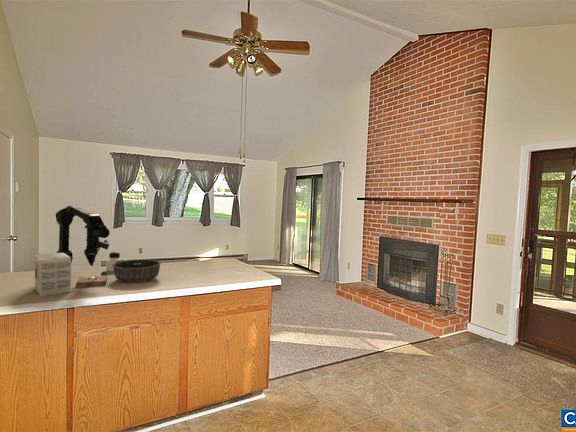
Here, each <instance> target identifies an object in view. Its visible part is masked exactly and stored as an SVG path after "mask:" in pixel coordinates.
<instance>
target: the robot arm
mask: <svg viewBox="0 0 576 432" xmlns="http://www.w3.org/2000/svg"><path fill="white" fill-rule="evenodd" d="M76 216H77V217H78V218H80V219H81V220H82V222H83V223H84V224H86V225H84V228H85V229H86V238H85V240H86V247H85V249H84V251H83V252H84V254H83V255H84V256H85V257H86V260H87V261H88V264H89V265H90V267H92V266H94V263H95V261H96V256H97V255H98V253H99V251H100V249H101V248H102V249H105V250H108V249H109V247H110V242H109V241H108V240H107V239H106V238H108V237H109V236H110V232H111V231H110V230H109V229H108V228H107V225H105V224H104V221H103V220H102V217H101V215H100V214H98V213H93V212H88V211H86V210H85V209H82V208H81V207H79V206H78V205H68V206H66V207H64V208H62V209H60V210H58V211H57V212H56V213H55V218H56V219H55V220H56V222H57V224H58V226H59V229H58V230H59V233H58V234H59V235H58V250H57V251H56V253H65V254H67V255H68V256H70V257H71V264H72V262H73V259H74V258H73V254H74V253H73V252H71V250H70V225H72V223H73V221H74V218H75V217H76ZM100 238H101V239H105V240H100Z"/></svg>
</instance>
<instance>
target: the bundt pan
mask: <svg viewBox="0 0 576 432" xmlns="http://www.w3.org/2000/svg"><path fill="white" fill-rule="evenodd" d="M161 264H162V262H160V261H159V260H155V259H154V260H153V259H129V260H123V261H122V262H118V263H115V264H113V265H112V266H113V268H114V272H113V273H114V276H115V278H116V279H117V280H118V281H119V282H122V283H125V284H126V283H128V284H132V283H135V284H137V283H144V282H150V281H152V280H154V279H156V277H157V276H158V275H159V272H160V266H161Z"/></svg>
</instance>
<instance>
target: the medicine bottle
mask: <svg viewBox="0 0 576 432" xmlns="http://www.w3.org/2000/svg"><path fill="white" fill-rule="evenodd" d="M120 256H121V253H120V252H118V251H112V252H110V253H109V256H108V257H109V259H107V260H106V262H105V271H106V272H111V273H114V268H113V266H112V265H113V264H115V263H118V262H122V261H124V260H123V259H122V258H121V257H120Z"/></svg>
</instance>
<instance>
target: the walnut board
mask: <svg viewBox="0 0 576 432" xmlns="http://www.w3.org/2000/svg"><path fill="white" fill-rule="evenodd" d="M91 277H95V278H96V280H89V279H90V278H91ZM107 282H108V274H107V275H104V276H101V275H92V276H91V275H90V276H89V275H87V276H79V277H78V278H77V281H76V282H75V288H87V287H88V288H89V287H100V286H101V287H102V286H106V285H107Z"/></svg>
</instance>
